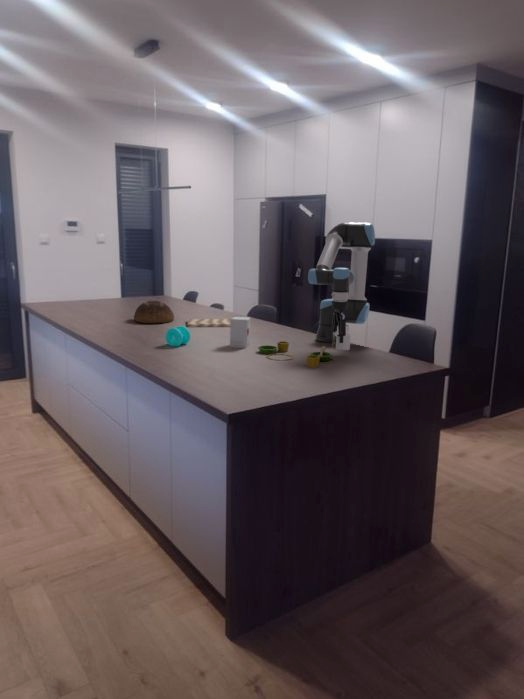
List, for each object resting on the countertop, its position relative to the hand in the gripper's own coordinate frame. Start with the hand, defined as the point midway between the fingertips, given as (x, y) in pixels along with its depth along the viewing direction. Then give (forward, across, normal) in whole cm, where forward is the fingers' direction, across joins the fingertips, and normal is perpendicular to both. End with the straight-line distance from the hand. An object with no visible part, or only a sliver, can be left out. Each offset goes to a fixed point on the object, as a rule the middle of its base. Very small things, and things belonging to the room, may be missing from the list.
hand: (337, 347), depth 261 cm
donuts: (+5, -30, -76) cm, 82 cm away
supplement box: (+5, -26, -44) cm, 52 cm away
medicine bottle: (+1, 0, +2) cm, 2 cm away
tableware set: (+5, +3, -21) cm, 22 cm away
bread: (+6, -109, -90) cm, 142 cm away
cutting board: (+6, -94, -54) cm, 109 cm away
